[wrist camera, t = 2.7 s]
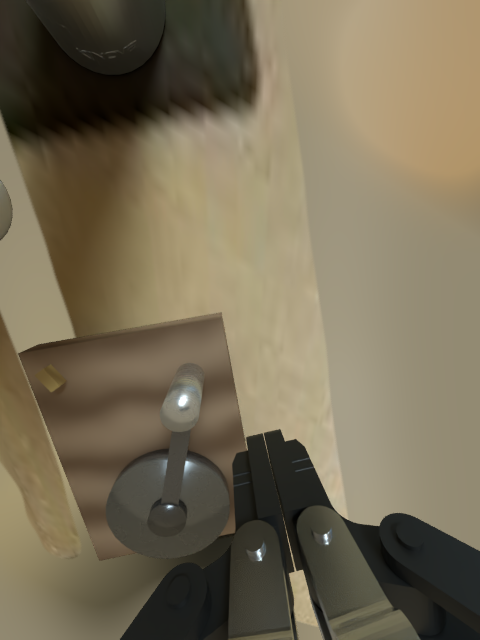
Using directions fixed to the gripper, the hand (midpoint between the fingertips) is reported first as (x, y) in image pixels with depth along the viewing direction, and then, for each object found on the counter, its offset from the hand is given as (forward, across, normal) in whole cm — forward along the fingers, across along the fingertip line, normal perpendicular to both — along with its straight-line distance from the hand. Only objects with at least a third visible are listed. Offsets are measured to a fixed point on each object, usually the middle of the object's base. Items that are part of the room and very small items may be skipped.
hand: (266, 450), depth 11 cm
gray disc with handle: (+13, +8, +9) cm, 18 cm away
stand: (+16, +11, +8) cm, 21 cm away
